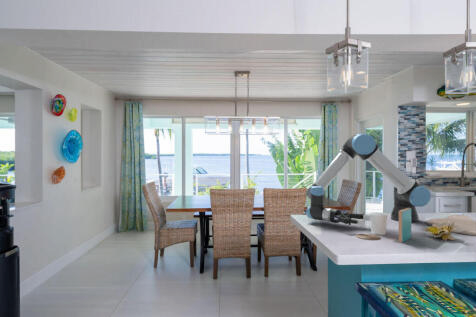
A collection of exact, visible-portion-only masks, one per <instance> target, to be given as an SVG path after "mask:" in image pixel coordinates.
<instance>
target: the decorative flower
mask: <svg viewBox="0 0 476 317" xmlns="http://www.w3.org/2000/svg"><path fill="white" fill-rule="evenodd" d="M456 224H457V223H456V221H451V220H446V221H444V222H443V223H442V224H441V223H438V222H437V223H436V222H434V223H433V224H432V226H431V225H430V226H427V227H426V228H424V227H423V228H422V227H421V230H423V231H424V232H426V233H427V234H430V235H433V237H434V238H440V239H442V241H448V240H452V241H453V240H454V241H455V240H456V239H455V237H453V236H452V234H451V233H453V232H454V231H456V230H458V229H459V228H458V226H457V225H456Z"/></svg>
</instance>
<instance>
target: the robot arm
mask: <svg viewBox="0 0 476 317" xmlns="http://www.w3.org/2000/svg"><path fill="white" fill-rule="evenodd" d="M357 156H358V157H359V158H360V159H361V160H362V161H366V162H368V163H369V164H371V165H372V167H374V169H375V170H377V171H378V172H379V173H380V174H381V175H382V176H383V177H384V178H385V179H386V180H387V181H388V182H390V183H391V185H393V208H392V211H391V213H390V219H391V220H393V221H397V222H399V211H400V210H403V209H406V208H411V223H412V222H419V219H420V216H419V214H418V211H417V209H416V207H417V208H418V207H419V208H422V207H425V206H427V205H428V204H429V203H430V202H431V198H432V193H431V191H430V190H429V188H427V187H425V186H422V185H421V184H420V183H419V182H418V181H417V180H416V179H414V178H409V177H408V176H407V175H406V174H405V173H404V172H403V171H402V170H401V169H399V167H397V165H396V164H395V163H393V161H391V160H390V159H389V158H388V157H387V156H386V155H385V154H384V153H383V152H382V151H381V150H380V146H379V144H377V143H376V140H375V138H374V137H373V136H372V135H370V134H368V133H358V134H355V135H352V136H350V137H348V139H347V140H346V141H345V143H344V144H343V145H342V146H341V148H340V149H339V153H338V154H337V155H336V156H335V157H334V159H333V160H332V161H331V162H330V164H329V165H328V166H327V167H326V168H325V170H324V171H322V173H321V174H320V175H319V177H318V178H317V179H316V180H315V181H314V182H313V184H312V185H311V186H310V187H308V188H307V189H306V196H307V198H308V199H310V205H308V207H307V208H306V210H305V211H306V212H305V213H306V216H307V218H308V219H311V220H315V221H323V222H326V223H334V224H339V223H342V224H345V225H348V226H351V225H356V226H365V223H366V222H365V221H368V222H370V214H369V215H368V214H365V213H364V212H363V213H350V212H342V211H341V210H340V209H337V208H330V207H325V190H326V188H328V186H329V185H330V184H331V183H332V181H334V179H335V178H336V177H337V176H338V175H339V173H340V172H341V171H342V170H343V169H344V167H345V166H346V165H347V164H348V163H349V162H350V161H353V160H354V159H355V157H357Z"/></svg>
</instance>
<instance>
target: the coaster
mask: <svg viewBox="0 0 476 317" xmlns="http://www.w3.org/2000/svg"><path fill="white" fill-rule="evenodd" d="M355 236H356V237H355V238H357V239H361V240H364V241H379V240H381V239H382V237H381V236H380V235H378V234H373V233H359V234H355Z"/></svg>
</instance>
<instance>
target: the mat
mask: <svg viewBox="0 0 476 317" xmlns="http://www.w3.org/2000/svg"><path fill="white" fill-rule="evenodd" d="M392 242H393V243H397V244H403V245H409V246H415V247H416V246H417V247H419V248H425V249H432V250H437V249H438V248H439V247H441V246H442V245H444V244H446V241H444V240H442V241H441V240H436V239H430V238H424V237H417V236H412V235H411V238H410V239H408V240H406V241H404V242H402V243H401V242H399V237H398V238H396V239H395V240H392Z"/></svg>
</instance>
